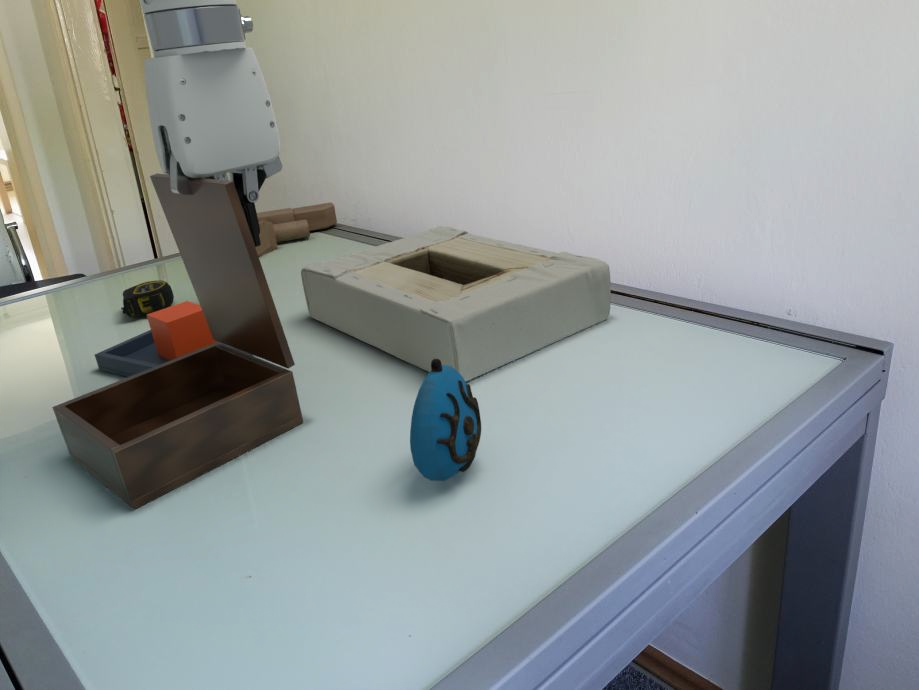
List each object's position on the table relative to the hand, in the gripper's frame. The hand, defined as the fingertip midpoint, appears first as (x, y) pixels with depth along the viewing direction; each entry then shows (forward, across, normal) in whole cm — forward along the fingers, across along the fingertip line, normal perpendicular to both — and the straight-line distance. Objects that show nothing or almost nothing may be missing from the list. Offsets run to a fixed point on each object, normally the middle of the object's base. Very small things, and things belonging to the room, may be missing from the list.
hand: (244, 246), depth 68 cm
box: (+16, -25, +1) cm, 30 cm away
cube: (+15, 0, -20) cm, 25 cm away
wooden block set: (+16, -39, -53) cm, 68 cm away
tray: (+16, 0, -20) cm, 25 cm away
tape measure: (+16, -5, -41) cm, 44 cm away
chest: (+16, +10, 0) cm, 19 cm away
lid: (+2, +3, 0) cm, 4 cm away
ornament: (+16, 0, +24) cm, 29 cm away
